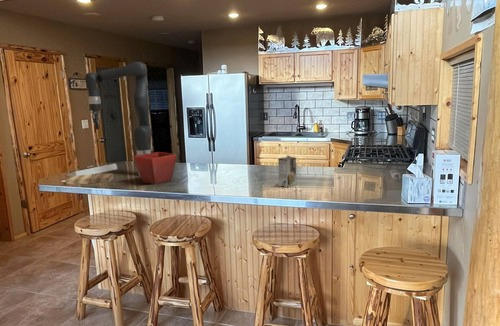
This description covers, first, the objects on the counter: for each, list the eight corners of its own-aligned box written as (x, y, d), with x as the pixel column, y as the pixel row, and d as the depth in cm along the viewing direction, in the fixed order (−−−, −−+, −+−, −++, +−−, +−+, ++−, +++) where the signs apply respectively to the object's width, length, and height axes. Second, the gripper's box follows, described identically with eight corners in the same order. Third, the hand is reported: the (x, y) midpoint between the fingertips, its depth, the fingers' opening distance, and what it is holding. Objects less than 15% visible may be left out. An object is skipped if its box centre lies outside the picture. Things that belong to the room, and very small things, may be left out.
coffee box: (287, 183, 214) (286, 156, 211) (296, 184, 210) (296, 157, 207) (278, 186, 207) (277, 158, 205) (287, 187, 203) (287, 159, 201)
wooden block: (113, 177, 243) (113, 173, 242) (108, 182, 229) (108, 177, 229) (96, 178, 241) (95, 174, 241) (90, 183, 228) (89, 178, 227)
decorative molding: (68, 180, 252) (77, 178, 246) (66, 174, 251) (75, 171, 246) (109, 172, 281) (117, 169, 276) (107, 166, 281) (115, 163, 276)
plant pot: (152, 186, 216) (150, 158, 213) (134, 182, 228) (132, 155, 225) (178, 180, 230) (176, 154, 227) (160, 177, 242) (158, 151, 239)
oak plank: (95, 178, 241) (95, 174, 241) (89, 183, 228) (89, 178, 227) (73, 180, 239) (72, 175, 239) (66, 184, 226) (65, 180, 225)
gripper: (98, 103, 238) (100, 129, 241) (103, 103, 251) (105, 128, 254) (86, 103, 237) (88, 130, 240) (91, 103, 250) (94, 128, 253)
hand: (97, 129), depth 247 cm, fingers closed
